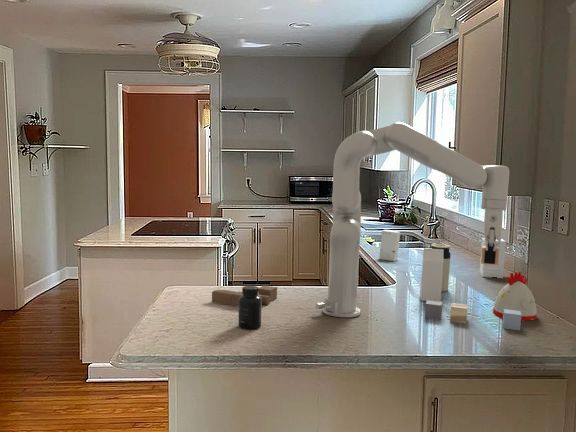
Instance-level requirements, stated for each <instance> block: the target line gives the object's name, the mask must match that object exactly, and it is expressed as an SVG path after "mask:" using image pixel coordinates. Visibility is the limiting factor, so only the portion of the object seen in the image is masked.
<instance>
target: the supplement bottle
mask: <svg viewBox="0 0 576 432" xmlns="http://www.w3.org/2000/svg"><path fill="white" fill-rule="evenodd" d="M258 288H259V287H258V286H256V285H245V286H242V289H241V292H242V294H243V295H242V296H241V297H240V298H239V307H238V319H237V320H238V322H237V323H238V324H237V325H238V327H239V328H240V329H242V330H246V331H248V330H249V331H250V330H251V331H252V330H257V329H259V328H261V326H262V309H263V308H262V299H261V297H260V296H258V294H259V292H258Z"/></svg>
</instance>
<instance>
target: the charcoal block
mask: <svg viewBox="0 0 576 432" xmlns="http://www.w3.org/2000/svg"><path fill="white" fill-rule="evenodd" d="M442 314H443V301H441V302H438V301H430V300H427V301H425V308H424V319H427V320H436V321H441V319H442V317H443V316H442Z"/></svg>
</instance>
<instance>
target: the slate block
mask: <svg viewBox="0 0 576 432" xmlns="http://www.w3.org/2000/svg"><path fill="white" fill-rule="evenodd" d="M521 322H522V321H521V311H516V310H507V309H504V311H503V318H502V329H504V330H506V329H507V330H514V331H521V326H522V323H521Z"/></svg>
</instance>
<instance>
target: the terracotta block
mask: <svg viewBox="0 0 576 432" xmlns="http://www.w3.org/2000/svg"><path fill="white" fill-rule="evenodd" d="M485 250H486V246H482V256H481V255H480V259H481V264H489V263H484V257H485ZM495 251H496V256H495V264H492V265H498V258H499V247H495Z"/></svg>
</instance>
